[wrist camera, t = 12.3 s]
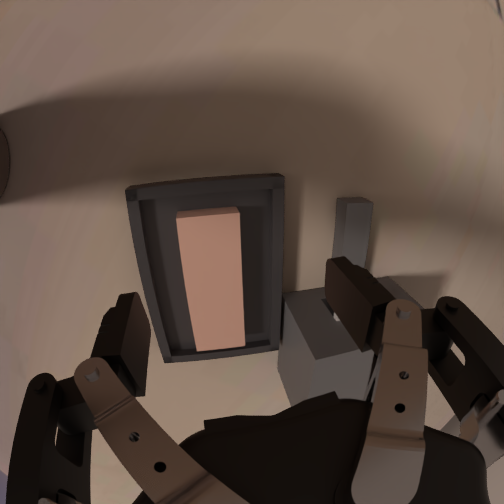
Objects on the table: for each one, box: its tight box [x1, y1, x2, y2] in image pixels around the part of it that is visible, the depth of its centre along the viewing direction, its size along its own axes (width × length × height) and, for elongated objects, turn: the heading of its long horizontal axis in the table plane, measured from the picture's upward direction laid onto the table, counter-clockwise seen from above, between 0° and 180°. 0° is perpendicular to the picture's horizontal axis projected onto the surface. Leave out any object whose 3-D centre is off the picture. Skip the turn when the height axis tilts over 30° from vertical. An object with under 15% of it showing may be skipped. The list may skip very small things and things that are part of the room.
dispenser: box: [278, 197, 424, 407], centre depth 26 cm, size 22×14×10 cm, turn 1°
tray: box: [125, 173, 284, 363], centre depth 26 cm, size 19×13×2 cm
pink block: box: [176, 206, 245, 351], centre depth 25 cm, size 14×5×2 cm, turn 1°
